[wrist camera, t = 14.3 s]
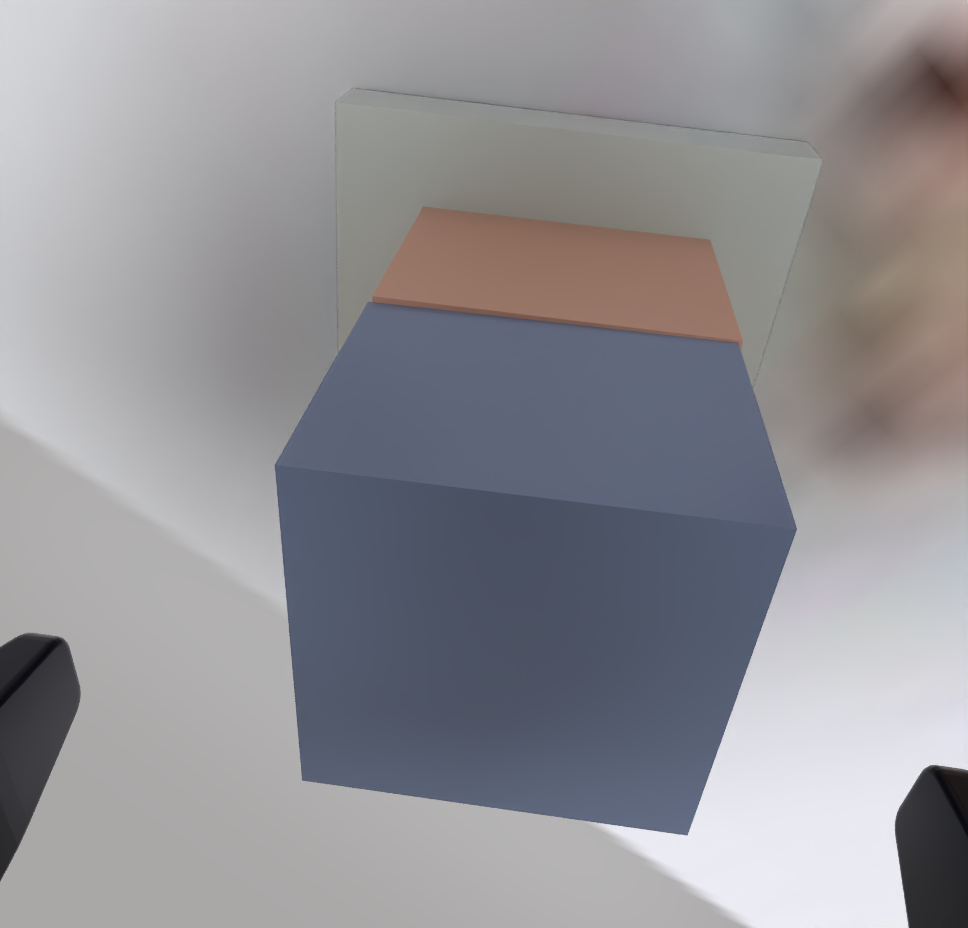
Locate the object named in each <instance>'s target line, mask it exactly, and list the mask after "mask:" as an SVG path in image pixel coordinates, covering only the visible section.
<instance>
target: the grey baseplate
mask: <svg viewBox="0 0 968 928" xmlns="http://www.w3.org/2000/svg"><path fill="white" fill-rule="evenodd" d="M335 139H336V225H337V312H338V353H339V352H340V350H341V348H342V346H343V345H344V343H345V341H346V339H347V338H348V336H349V334H350V332H351V331H352V329H353V327H354V325H355V324H356V322H357V320H358V318H359V316H360V315H361V313H362V311H363V309H364V308H365V306H366V304H367V302H372V296H373V294H374V292H375V290H376V289H377V287H378V285H379V283H380V281H381V280H382V278H383V276H384V274H385V273H386V271H387V269H388V267H389V266H390V264H391V262H392V260H393V258H394V257H395V255H396V253H397V251H398V250H399V248H400V246H401V244H402V243H403V241H404V239H405V237H406V236H407V234H408V232H409V230H410V228H411V227H412V225H413V223H414V221H415V220H416V218H417V216H418V214H419V213H420V211H421V209H422V207H431V208H440V209H449V210H457V211H466V212H475V213H483V214H492V215H500V216H509V217H518V218H526V219H535V220H544V221H552V222H561V223H569V224H578V225H587V226H595V227H604V228H613V229H621V230H630V231H638V232H647V233H656V234H664V235H673V236H682V237H690V238H699V239H708V240H710V241H711V244H712V247H713V250H714V253H715V256H716V259H717V262H718V265H719V268H720V271H721V274H722V277H723V280H724V284H725V287H726V290H727V293H728V296H729V299H730V302H731V305H732V308H733V311H734V314H735V317H736V320H737V323H738V326H739V329H740V332H741V336H742V339H743V344H742V347H741V353H742V356H743V359H744V363H745V366H746V369H747V372H748V375H749V379H750V382H751V385H752V388H753V387H754V384H755V381H756V377H757V374H758V371H759V368H760V364H761V361H762V358H763V355H764V351H765V348H766V345H767V342H768V338H769V335H770V332H771V329H772V325H773V322H774V319H775V316H776V312H777V309H778V306H779V303H780V299H781V296H782V293H783V290H784V286H785V283H786V280H787V277H788V273H789V270H790V267H791V264H792V260H793V257H794V254H795V251H796V247H797V244H798V241H799V238H800V234H801V231H802V228H803V225H804V221H805V218H806V215H807V212H808V208H809V205H810V202H811V199H812V195H813V192H814V189H815V186H816V182H817V179H818V176H819V173H820V169H821V166H822V163H823V159H822V158H821V157H820V155H819V154H818V153H817V152H816V151H815V150H814V148H813V147H812V146H811V145H810V144H809V143H808V142H803V141H794V140H786V139H777V138H769V137H760V136H752V135H743V134H735V133H727V132H718V131H710V130H701V129H693V128H684V127H676V126H667V125H659V124H650V123H642V122H633V121H625V120H616V119H608V118H600V117H591V116H583V115H574V114H566V113H557V112H549V111H540V110H532V109H523V108H515V107H506V106H498V105H489V104H481V103H473V102H464V101H456V100H447V99H439V98H430V97H422V96H413V95H405V94H396V93H388V92H379V91H371V90H362V89H354V88H352V89H351V90H350V91H348V92H347V93H346V94H345V95H343V96H342V97H341V98H340V99H338V100H337V101H336V102H335Z"/></svg>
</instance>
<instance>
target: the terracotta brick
mask: <svg viewBox="0 0 968 928" xmlns="http://www.w3.org/2000/svg"><path fill="white" fill-rule="evenodd" d="M372 302H376V303H385V304H394V305H403V306H412V307H421V308H430V309H439V310H448V311H457V312H466V313H475V314H484V315H493V316H502V317H511V318H520V319H529V320H538V321H547V322H556V323H565V324H574V325H583V326H592V327H601V328H610V329H619V330H628V331H637V332H646V333H655V334H664V335H673V336H682V337H691V338H700V339H709V340H718V341H727V342H736V343H738V344H739V347H740V350H741V347H742V344H743V339H742V336H741V332H740V329H739V326H738V323H737V320H736V317H735V314H734V311H733V308H732V305H731V302H730V299H729V296H728V293H727V290H726V287H725V284H724V280H723V277H722V274H721V271H720V268H719V265H718V262H717V259H716V256H715V253H714V250H713V247H712V244H711V241H710V240H708V239H699V238H690V237H682V236H673V235H664V234H656V233H647V232H638V231H630V230H621V229H613V228H604V227H595V226H587V225H578V224H569V223H561V222H552V221H544V220H535V219H526V218H518V217H509V216H500V215H492V214H483V213H475V212H466V211H457V210H449V209H440V208H431V207H422V209H421V211H420V213H419V214H418V216H417V218H416V220H415V221H414V223H413V225H412V227H411V228H410V230H409V232H408V234H407V236H406V237H405V239H404V241H403V243H402V244H401V246H400V248H399V250H398V251H397V253H396V255H395V257H394V258H393V260H392V262H391V264H390V266H389V267H388V269H387V271H386V273H385V274H384V276H383V278H382V280H381V281H380V283H379V285H378V287H377V289H376V290H375V292H374V294H373V296H372Z"/></svg>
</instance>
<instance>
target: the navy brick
mask: <svg viewBox="0 0 968 928" xmlns="http://www.w3.org/2000/svg"><path fill="white" fill-rule="evenodd" d="M275 471H276V483H277V494H278V506H279V517H280V529H281V540H282V552H283V563H284V575H285V587H286V598H287V610H288V621H289V633H290V644H291V656H292V668H293V679H294V689H295V702H296V713H297V725H298V736H299V748H300V760H301V772H302V780H303V781H310V782H317V783H324V784H331V785H338V786H345V787H352V788H359V789H367V790H373V791H380V792H387V793H394V794H401V795H408V796H415V797H422V798H429V799H437V800H443V801H450V802H457V803H464V804H471V805H479V806H485V807H492V808H500V809H507V810H513V811H521V812H527V813H534V814H541V815H548V816H555V817H563V818H569V819H576V820H583V821H590V822H597V823H604V824H611V825H618V826H625V827H632V828H639V829H646V830H653V831H660V832H667V833H674V834H681V835H688V832H689V829H690V827H691V824H692V821H693V818H694V815H695V813H696V810H697V807H698V804H699V801H700V799H701V796H702V793H703V790H704V787H705V785H706V782H707V779H708V776H709V773H710V771H711V768H712V765H713V762H714V759H715V757H716V754H717V751H718V748H719V745H720V743H721V740H722V737H723V734H724V731H725V729H726V726H727V723H728V720H729V717H730V715H731V712H732V709H733V706H734V703H735V701H736V698H737V695H738V692H739V689H740V687H741V684H742V681H743V678H744V675H745V673H746V670H747V667H748V664H749V661H750V659H751V656H752V653H753V650H754V647H755V645H756V642H757V639H758V636H759V633H760V631H761V628H762V625H763V622H764V619H765V617H766V614H767V611H768V608H769V605H770V603H771V600H772V597H773V594H774V591H775V589H776V586H777V583H778V580H779V577H780V575H781V572H782V569H783V566H784V563H785V561H786V558H787V555H788V552H789V549H790V547H791V544H792V541H793V538H794V535H795V533H796V530H797V528H796V525H795V522H794V519H793V515H792V512H791V509H790V506H789V503H788V499H787V496H786V493H785V490H784V487H783V484H782V480H781V477H780V474H779V471H778V468H777V464H776V461H775V458H774V455H773V452H772V449H771V445H770V442H769V439H768V436H767V433H766V429H765V426H764V423H763V420H762V417H761V414H760V410H759V407H758V404H757V401H756V398H755V394H754V391H753V388H752V385H751V382H750V379H749V375H748V372H747V369H746V366H745V363H744V359H743V356H742V353H741V350H740V347H739V344H738V343H736V342H727V341H718V340H709V339H700V338H691V337H682V336H673V335H664V334H655V333H646V332H637V331H628V330H619V329H610V328H601V327H592V326H583V325H574V324H565V323H556V322H547V321H538V320H529V319H520V318H511V317H502V316H493V315H484V314H475V313H466V312H457V311H448V310H439V309H430V308H421V307H412V306H403V305H394V304H385V303H376V302H367V304H366V306H365V308H364V309H363V311H362V313H361V315H360V316H359V318H358V320H357V322H356V324H355V325H354V327H353V329H352V331H351V332H350V334H349V336H348V338H347V339H346V341H345V343H344V345H343V346H342V348H341V350H340V352H339V353H338V355H337V357H336V359H335V360H334V362H333V364H332V366H331V367H330V369H329V371H328V373H327V374H326V376H325V378H324V380H323V382H322V383H321V385H320V387H319V389H318V390H317V392H316V394H315V396H314V397H313V399H312V401H311V403H310V404H309V406H308V408H307V410H306V411H305V413H304V415H303V417H302V418H301V420H300V422H299V424H298V425H297V427H296V429H295V431H294V433H293V434H292V436H291V438H290V440H289V441H288V443H287V445H286V447H285V448H284V450H283V452H282V454H281V455H280V457H279V459H278V461H277V462H276V464H275Z"/></svg>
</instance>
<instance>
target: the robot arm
mask: <svg viewBox="0 0 968 928" xmlns="http://www.w3.org/2000/svg"><path fill="white" fill-rule="evenodd" d="M79 702H80V685H79V681H78V677H77V674H76V670H75V666H74V663H73V659H72V655H71V651H70V648H69V645H68V643H67V642H66V641H65V640H64V639H63V638H61V637H58V636H51V635H45V634H38V633H26V634H23V635H20V636H18V637H16V638H14V639H12V640H11V641H9V642H7V643H6V644H4V645H3V646H1V647H0V881H1V879H2V877H3V875H4V873H5V871H6V870H7V868H8V866H9V864H10V862H11V860H12V858H13V856H14V854H15V853H16V851H17V849H18V847H19V845H20V843H21V840H22V838H23V836H24V834H25V832H26V829H27V827H28V825H29V823H30V820H31V818H32V816H33V813H34V811H35V809H36V806H37V804H38V802H39V799H40V797H41V795H42V792H43V790H44V787H45V785H46V783H47V780H48V778H49V776H50V773H51V771H52V769H53V766H54V764H55V761H56V759H57V757H58V755H59V752H60V750H61V748H62V745H63V743H64V741H65V738H66V736H67V733H68V731H69V729H70V726H71V724H72V722H73V719H74V717H75V715H76V712H77V709H78V706H79ZM895 836H896V843H897V850H898V857H899V864H900V870H901V877H902V884H903V891H904V898H905V905H906V912H907V919H908V926H909V928H968V770H964V769H959V768H952V767H945V766H939V765H930V766H929V767H927V768H925V769H924V770H923V771H922V772H921V774H920V775H919V777H918V779H917V780H916V782H915V783H914V785H913V787H912V788H911V790H910V792H909V793H908V795H907V796H906V798H905V800H904V801H903V803H902V804H901V806H900V808H899V810H898V812H897V816H896V821H895Z"/></svg>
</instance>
